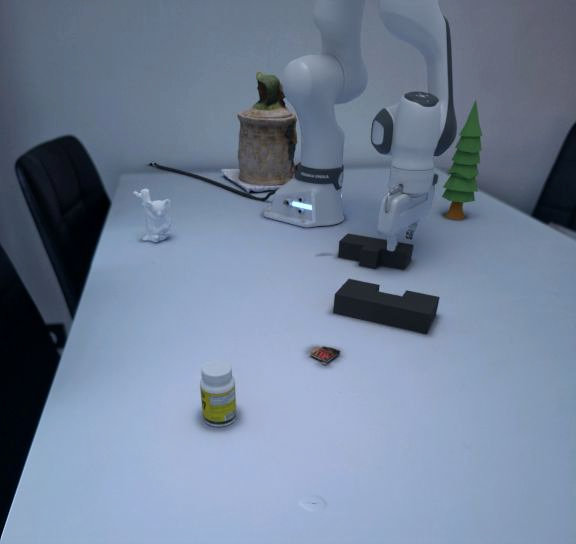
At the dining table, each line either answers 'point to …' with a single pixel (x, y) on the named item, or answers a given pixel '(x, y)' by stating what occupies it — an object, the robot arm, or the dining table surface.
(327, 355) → the matchbox
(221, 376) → the supplement bottle
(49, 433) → the dining table surface
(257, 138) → the cookie jar
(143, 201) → the koala figurine
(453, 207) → the decorative tree
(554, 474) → the dining table surface
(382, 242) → the black pad
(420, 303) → the charcoal pad
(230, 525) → the dining table surface
